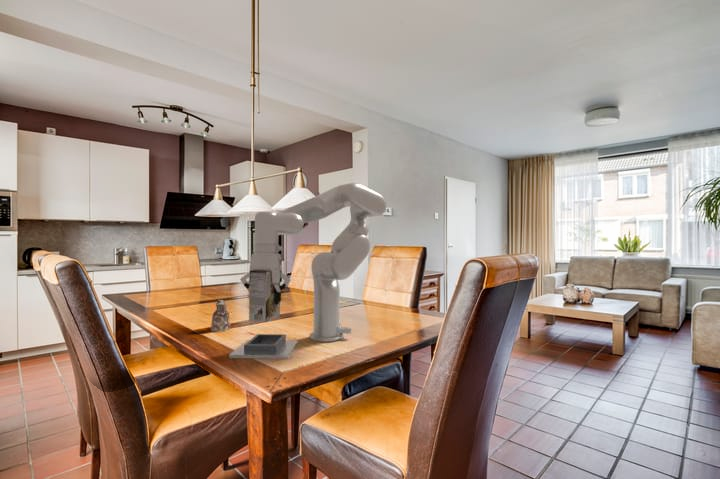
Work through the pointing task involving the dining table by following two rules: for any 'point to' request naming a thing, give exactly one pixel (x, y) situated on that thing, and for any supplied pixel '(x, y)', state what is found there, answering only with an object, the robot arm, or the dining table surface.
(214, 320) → the figurine
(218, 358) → the dining table surface
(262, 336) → the locating jig
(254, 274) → the coffee box
